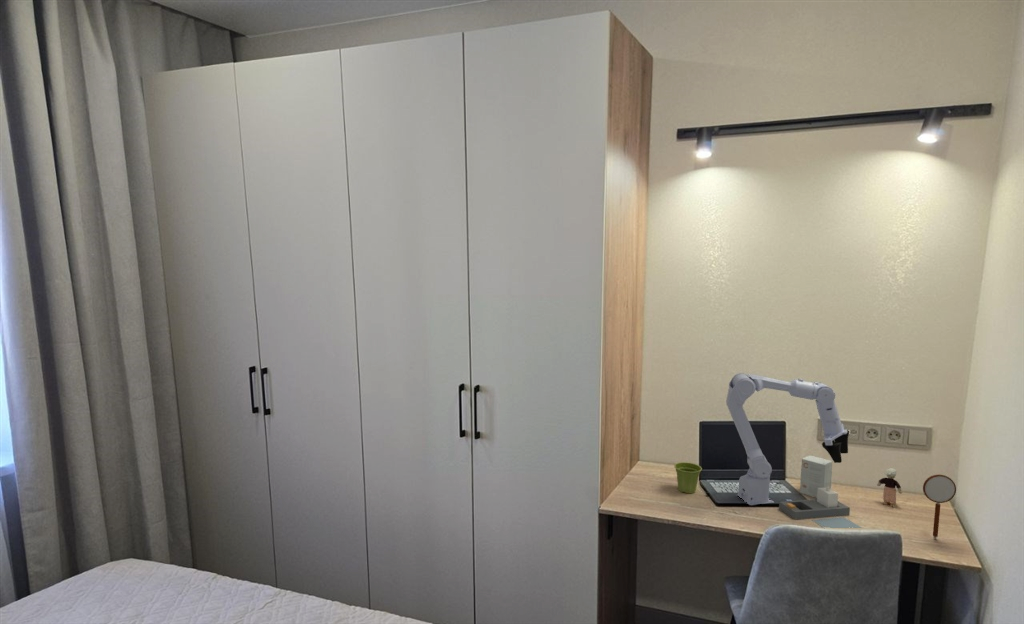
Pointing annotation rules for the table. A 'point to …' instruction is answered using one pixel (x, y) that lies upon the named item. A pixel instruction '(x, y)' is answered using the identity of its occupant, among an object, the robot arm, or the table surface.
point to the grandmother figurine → (890, 487)
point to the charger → (827, 497)
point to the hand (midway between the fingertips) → (841, 457)
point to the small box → (815, 475)
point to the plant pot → (687, 476)
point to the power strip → (811, 509)
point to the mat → (836, 523)
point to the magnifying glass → (939, 494)
